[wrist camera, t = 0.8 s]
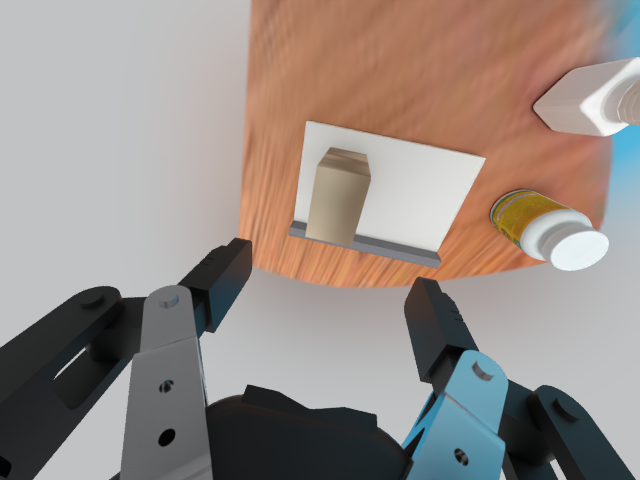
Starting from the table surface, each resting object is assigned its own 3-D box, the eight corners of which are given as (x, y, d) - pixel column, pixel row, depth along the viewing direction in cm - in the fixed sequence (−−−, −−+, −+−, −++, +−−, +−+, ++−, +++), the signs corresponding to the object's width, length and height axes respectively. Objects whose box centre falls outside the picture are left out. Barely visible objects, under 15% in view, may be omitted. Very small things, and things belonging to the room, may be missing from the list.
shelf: (309, 120, 26) (302, 121, 23) (477, 155, 25) (496, 162, 22) (295, 223, 33) (288, 236, 29) (428, 252, 32) (436, 269, 29)
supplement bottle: (551, 198, 27) (640, 238, 18) (516, 235, 29) (579, 285, 21) (509, 181, 26) (580, 214, 18) (478, 220, 29) (527, 265, 21)
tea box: (320, 198, 28) (305, 236, 20) (330, 146, 25) (316, 165, 17) (354, 205, 28) (352, 247, 19) (367, 154, 25) (373, 177, 16)
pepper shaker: (551, 133, 24) (655, 146, 15) (527, 107, 23) (622, 105, 15) (596, 96, 22) (742, 87, 13) (571, 66, 21) (709, 37, 13)
